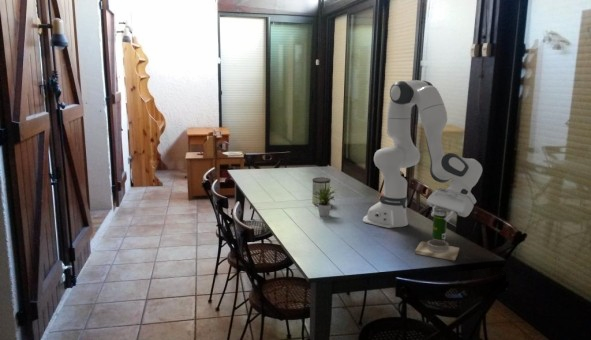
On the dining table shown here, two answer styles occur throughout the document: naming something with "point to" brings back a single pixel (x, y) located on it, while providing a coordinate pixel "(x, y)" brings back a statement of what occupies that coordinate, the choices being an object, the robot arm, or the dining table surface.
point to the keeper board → (437, 249)
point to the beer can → (439, 225)
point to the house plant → (324, 201)
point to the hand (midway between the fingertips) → (439, 218)
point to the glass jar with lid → (320, 183)
